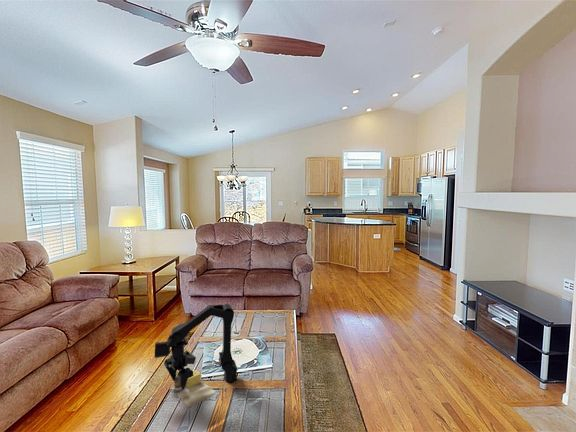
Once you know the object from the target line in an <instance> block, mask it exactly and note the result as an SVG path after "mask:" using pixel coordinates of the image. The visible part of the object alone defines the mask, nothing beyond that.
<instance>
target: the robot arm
mask: <svg viewBox="0 0 576 432" xmlns="http://www.w3.org/2000/svg"><path fill="white" fill-rule="evenodd" d="M234 316H235V311H234V309H233V306H232V305H231V304H228V303H226V304H209V305H207V306H206V307H205V308H204V309H202V310H201V311H200V312H197V314H195V315H194V316H193V317H192V318H190V319H189V320H188V321H186V322H183V323H180V324H178V325H176V326H174V327H173V328H172V329H171V332H170V333H171V334H170V335H169V336H168V338H167V340H166V341H160V342H159V341H158V342H155V343H154V358H155V359H159V358H165V357H168V356H169V358H166V359H165V360H164V362H163V366H165V369H166V371H167V372H168V374H169V376H170V377H171V379H172V381H173V382H174V380H175V379H176V378H178V381H179V383H180V386H181V388H182V389H184V388H185V385H186V382H187V380H188V378H190V377H192V376H193V371H194V370H192V369H191V368H189V367H188V365H195V363H196V360H197V357H196V356H195V355H194V354H191V353H190V351H188V350H185V346H187V345H189V340H188V339H186V338H187V337H188V335H189V334H190V332H192V330H194V329H195V328H196V327H197V326H199V325H200V324H201V323H203V322H205V321H206V320H207V319H208V318H210V317H216V318H217V317H218V318H220V319H222V350H221V351H219V352H218V363H219V367H221V369H222V370H223V373H224V375H223V376H224V382H226V383H229V384H233V383H235V382H237V377H238V376H237V375H238V374H237V372H238V367H237V364H236V361H235V360H234V359H233V357H232V356H233V355H232V345H231V342H232V324H233V322H234ZM169 354H171V355H169ZM185 367H186V368H185ZM177 372H178V373H177Z"/></svg>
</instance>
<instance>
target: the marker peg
mask: <svg viewBox="0 0 576 432" xmlns="http://www.w3.org/2000/svg"><path fill="white" fill-rule="evenodd" d="M173 383H174V385H173V386H174V388H175V392H180V391H182V390H183V389H182V388H181V386H180V383H179V381H178V377H176V379H175V380H174V381H173ZM175 392H174V393H175Z"/></svg>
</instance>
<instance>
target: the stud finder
mask: <svg viewBox="0 0 576 432" xmlns="http://www.w3.org/2000/svg"><path fill="white" fill-rule="evenodd" d="M192 371H193V376H192V377H190V378H188V380H187V382H186V385H185V386H186V387H187V388H189V387H191V386H193V385H195V384H198V383H200V382H201V380H202V379H201V373H200V372H199V371H198V370H197V369H196V370H192Z"/></svg>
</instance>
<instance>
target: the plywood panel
mask: <svg viewBox="0 0 576 432" xmlns="http://www.w3.org/2000/svg"><path fill="white" fill-rule="evenodd" d="M169 388H170V389H171V391H172V392H174V393H175V395H177V396H178V397H179V399H181V401H183V402H184V403H185V404H186V406H187V407H189V408H191V407H194V406H195V405H197V404H200V403H201V402H203V401H204V400H207V399H209V398H211V397H212V396H215V395H216V394H217V392H216V391H215V390H214V389H213V388H211V387H210V386H209V385H208V384H207V383H205V382H204V381H203V379H201V382H200V383H198V384H195V385H193V386H191V387H189V388H187V387H186V386H185V388H184V389H183V390H182V391H180V392H175V388H174V385H172V386H170V387H169Z"/></svg>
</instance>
